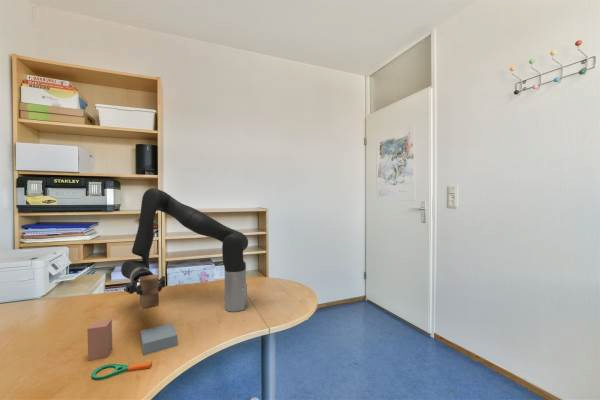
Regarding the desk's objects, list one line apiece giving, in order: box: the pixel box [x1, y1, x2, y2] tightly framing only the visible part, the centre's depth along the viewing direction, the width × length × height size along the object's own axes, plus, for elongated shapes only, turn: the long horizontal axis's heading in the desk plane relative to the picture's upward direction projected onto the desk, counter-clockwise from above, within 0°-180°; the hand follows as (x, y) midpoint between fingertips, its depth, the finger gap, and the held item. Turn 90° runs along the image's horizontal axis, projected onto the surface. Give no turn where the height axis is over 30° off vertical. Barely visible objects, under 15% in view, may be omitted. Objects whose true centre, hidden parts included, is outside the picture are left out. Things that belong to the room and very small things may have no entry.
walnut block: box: [139, 273, 160, 310], centre depth 97 cm, size 5×5×10 cm
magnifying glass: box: [90, 361, 153, 381], centre depth 81 cm, size 15×6×2 cm, turn 104°
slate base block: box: [140, 322, 178, 356], centre depth 95 cm, size 10×10×4 cm
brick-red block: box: [86, 318, 113, 362], centre depth 88 cm, size 5×5×10 cm
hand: (150, 290), depth 95 cm, fingers closed on walnut block, 5 cm apart
